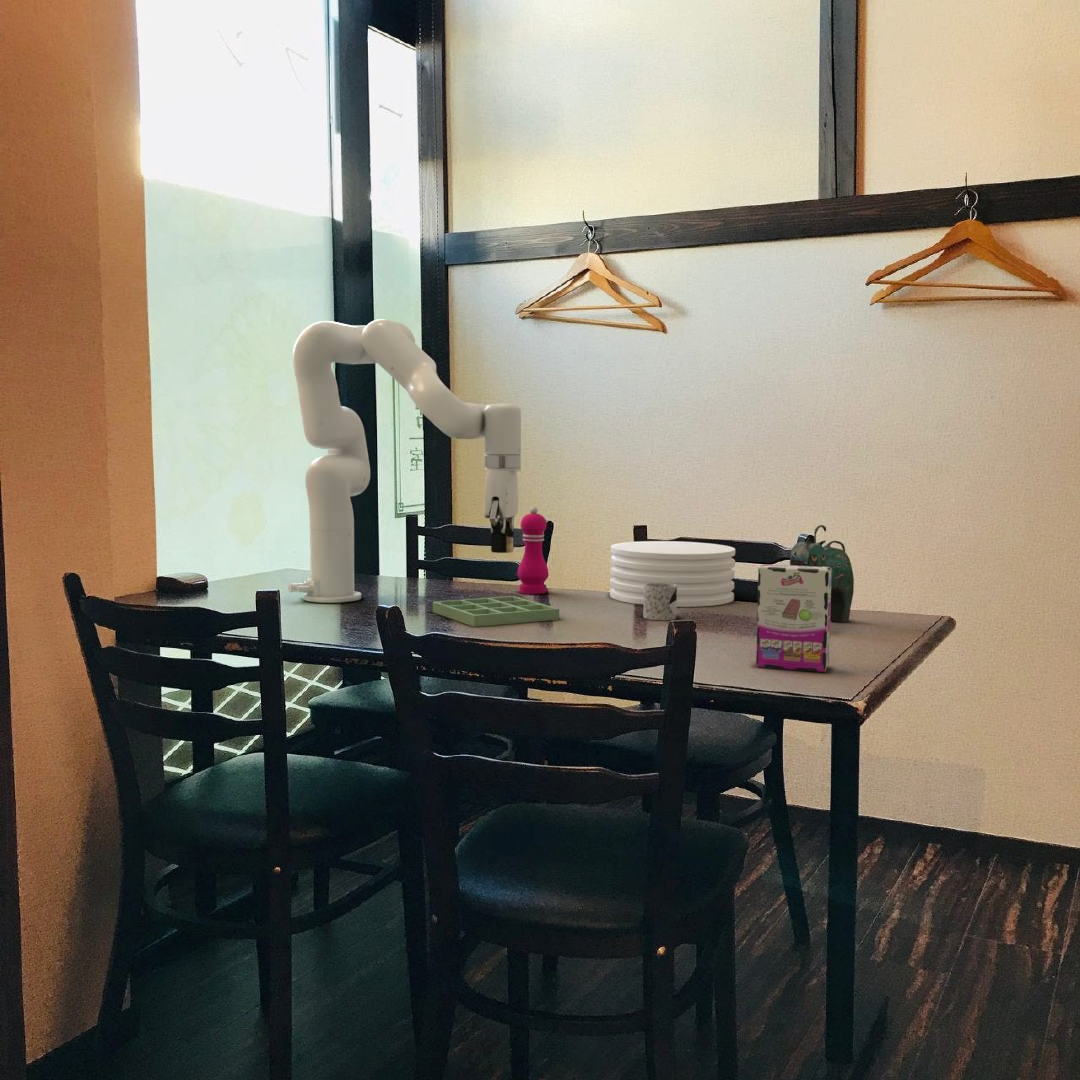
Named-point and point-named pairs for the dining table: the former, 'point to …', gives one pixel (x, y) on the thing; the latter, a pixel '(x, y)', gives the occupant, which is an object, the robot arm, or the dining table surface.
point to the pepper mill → (533, 555)
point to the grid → (495, 611)
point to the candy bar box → (793, 617)
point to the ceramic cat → (840, 575)
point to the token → (509, 545)
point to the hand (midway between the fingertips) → (502, 550)
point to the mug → (660, 601)
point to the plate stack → (673, 571)
